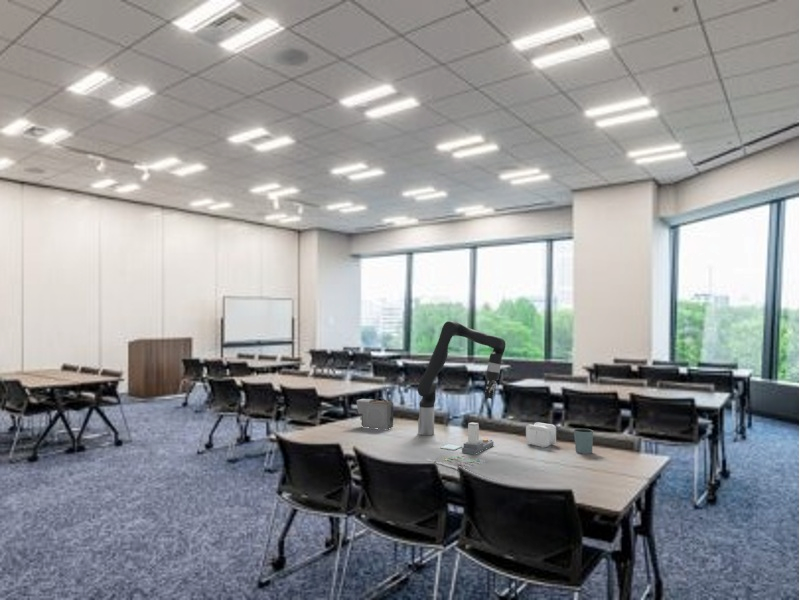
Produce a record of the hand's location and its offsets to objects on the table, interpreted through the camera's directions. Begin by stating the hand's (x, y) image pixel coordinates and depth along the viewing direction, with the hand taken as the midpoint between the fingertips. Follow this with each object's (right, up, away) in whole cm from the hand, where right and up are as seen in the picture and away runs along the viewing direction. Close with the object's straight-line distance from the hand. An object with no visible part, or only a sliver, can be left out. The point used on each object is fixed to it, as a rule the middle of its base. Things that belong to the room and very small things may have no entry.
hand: (488, 398), depth 317 cm
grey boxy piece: (-68, -28, +46) cm, 87 cm away
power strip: (-6, -26, -11) cm, 29 cm away
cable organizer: (+30, -27, -2) cm, 40 cm away
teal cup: (+49, -26, -19) cm, 59 cm away
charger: (-11, -23, -18) cm, 31 cm away
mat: (-23, -26, -10) cm, 36 cm away
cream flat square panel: (-19, -26, -38) cm, 50 cm away
